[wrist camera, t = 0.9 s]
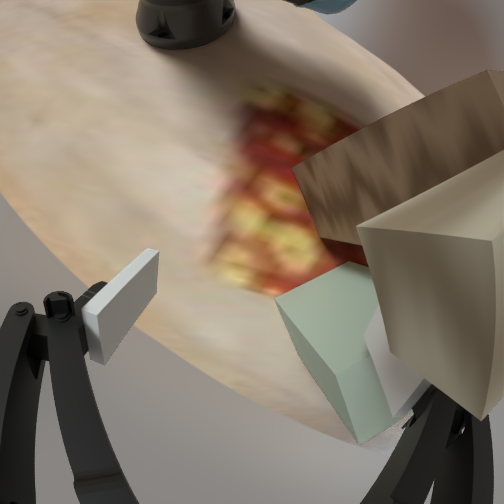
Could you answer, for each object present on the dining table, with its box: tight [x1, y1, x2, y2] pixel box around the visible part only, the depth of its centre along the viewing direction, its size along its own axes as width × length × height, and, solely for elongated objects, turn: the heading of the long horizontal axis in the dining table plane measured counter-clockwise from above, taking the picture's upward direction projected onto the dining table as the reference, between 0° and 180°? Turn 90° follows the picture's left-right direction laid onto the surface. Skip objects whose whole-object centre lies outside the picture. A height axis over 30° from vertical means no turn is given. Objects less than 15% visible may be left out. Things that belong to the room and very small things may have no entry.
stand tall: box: [292, 70, 504, 245], centre depth 22 cm, size 10×13×30 cm
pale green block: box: [274, 261, 413, 445], centre depth 29 cm, size 10×12×20 cm
